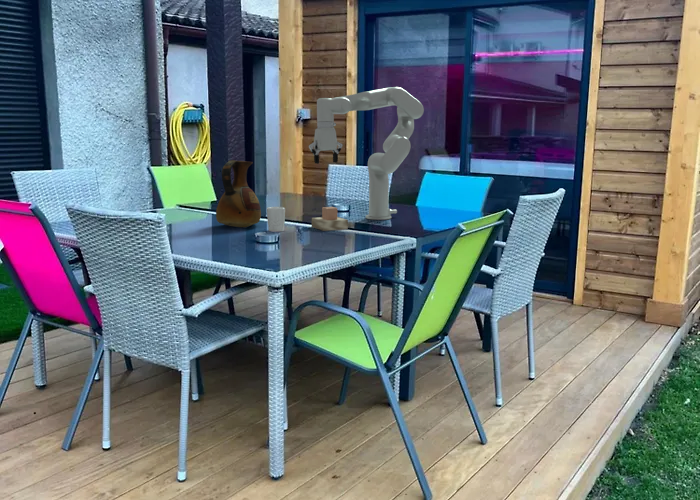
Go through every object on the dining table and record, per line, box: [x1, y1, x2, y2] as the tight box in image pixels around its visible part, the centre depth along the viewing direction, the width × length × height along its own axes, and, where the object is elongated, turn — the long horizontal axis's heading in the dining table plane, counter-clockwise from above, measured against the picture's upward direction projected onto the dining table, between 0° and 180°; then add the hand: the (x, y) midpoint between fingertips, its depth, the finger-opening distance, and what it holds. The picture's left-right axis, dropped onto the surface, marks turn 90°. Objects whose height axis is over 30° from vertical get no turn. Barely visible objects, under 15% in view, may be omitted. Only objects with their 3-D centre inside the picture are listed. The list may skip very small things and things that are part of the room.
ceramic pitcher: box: [215, 159, 262, 228], centre depth 300 cm, size 20×20×30 cm
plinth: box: [311, 216, 349, 232], centre depth 301 cm, size 12×12×4 cm
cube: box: [321, 206, 338, 220], centre depth 300 cm, size 5×5×5 cm
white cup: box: [266, 206, 286, 233], centre depth 293 cm, size 8×8×10 cm
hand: (326, 163), depth 313 cm, fingers open, 9 cm apart
